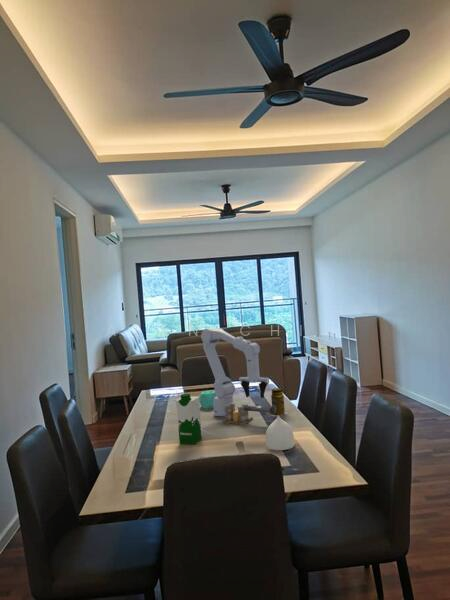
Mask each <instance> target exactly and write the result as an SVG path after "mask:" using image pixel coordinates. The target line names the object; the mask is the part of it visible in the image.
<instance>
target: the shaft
mask: <svg viewBox="0 0 450 600" xmlns="http://www.w3.org/2000/svg"><path fill="white" fill-rule="evenodd" d="M244 410H245V411H248V412H256V413H257V412H258V413H260V412H261V413H272V414H273V415H275V414H276V406H272V405H271V407H267V406H255V405H253V406H252V405H248V406H245V407H244Z"/></svg>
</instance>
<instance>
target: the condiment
mask: <svg viewBox="0 0 450 600" xmlns="http://www.w3.org/2000/svg"><path fill="white" fill-rule="evenodd" d="M283 393H284V392H283V388H281V387H280V388H279V387H277V388H272V389H271V395H270V396H271V407H272V406H276V414H275V415H273V414H272V413H270V412H265V413H266V415H268V416H271V417H276V418H277V416H278V415H279V417H280V416H283V415H287V414H288V412H286V411H285V397H284V394H283Z"/></svg>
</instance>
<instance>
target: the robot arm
mask: <svg viewBox="0 0 450 600" xmlns="http://www.w3.org/2000/svg"><path fill="white" fill-rule="evenodd" d="M200 338H201V340H202V344H203V345H202V346H203V347H202V348H203V350H204V353H205V356H206V358H207V361H208V363H209V366H210V368H211V371H212V374H213V377H214V379H215V380H214V383H213V388H214V389H213V390H214V391H215V395H216V396H217V397H215V398H214V401H213V406H214V408H213V416H215V417H225V406H229V404H230V403H233V404H234V399H233V396H234V393H235V391H236V386H235V385H234V383H233V382H232V380H231V378H230V377H228V376H226V374H225V370H224V368H223V366H222V363H221V360H220V358H219V356H218V352H217V350H216V345H217V344H218V343H219V342H220V340H223V341H224V342H225V341H226V342H227V343H229V344H231V345H232V347H233V348H235V349H236V350H238V351H241V352H243V355H244V356H245V359H246V370H247V371H246V373H247V376H240V377H239V382H240V386H241V387H242V389H243V391H244V394H245V397H246V398H249V397H250V384H251V383H258V388H259V395H260V399H263V398H264V397H265V394H266V393H265V392H266V388H267V386H268V383H269V382H270V381H269V380H270V379H269V378H270V377H263V376H262V377H261V376H260V363H259V362H260V361H259V354H260V353H261V347H260V345H259V344H258V343H257V342H251V341H250V340H247V339H245V338H244V337H243V336H237V337H236V336H233V335H232V334H230V333H229V332H227V331H225V330H224V329H223V328H221V327H219V326H218V327H212V328H211V327H210V328H205V329H203V330H202V332H201V334H200Z"/></svg>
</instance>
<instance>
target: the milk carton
mask: <svg viewBox="0 0 450 600" xmlns="http://www.w3.org/2000/svg"><path fill="white" fill-rule="evenodd" d="M199 399H200V396H198V395H197V396H191V394H190V393H182V394H180V397H179V398H177V399H176V400H175V404H176V410H177V411H176V412H177V413H176V414H177V425H178V426H177V427H178V441H179V445H197V444H198V443H199V442H200V441H201V440H202V439H203V437H202V427H201V426H202V425H201V412H200V402H199Z"/></svg>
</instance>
